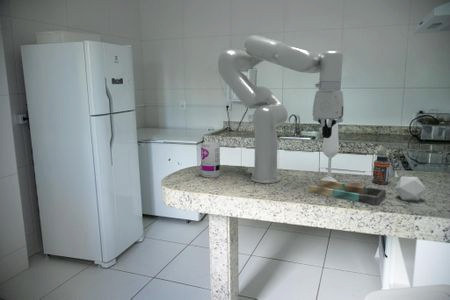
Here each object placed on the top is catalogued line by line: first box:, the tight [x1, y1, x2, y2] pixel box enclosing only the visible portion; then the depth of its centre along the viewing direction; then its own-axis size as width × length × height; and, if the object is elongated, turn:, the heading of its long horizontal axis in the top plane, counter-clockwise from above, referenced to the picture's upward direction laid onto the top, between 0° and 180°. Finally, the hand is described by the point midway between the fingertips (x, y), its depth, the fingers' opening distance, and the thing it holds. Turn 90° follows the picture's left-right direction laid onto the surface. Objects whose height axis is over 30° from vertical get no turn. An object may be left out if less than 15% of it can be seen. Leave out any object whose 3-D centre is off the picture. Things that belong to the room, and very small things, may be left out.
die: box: [394, 176, 427, 202], centre depth 113 cm, size 8×9×10 cm
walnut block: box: [345, 181, 367, 195], centre depth 118 cm, size 6×6×4 cm
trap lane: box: [308, 178, 387, 206], centre depth 119 cm, size 24×11×2 cm, turn 52°
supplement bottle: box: [371, 154, 391, 185], centre depth 133 cm, size 6×6×11 cm
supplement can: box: [200, 141, 221, 179], centre depth 146 cm, size 8×8×15 cm
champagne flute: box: [321, 122, 340, 182], centre depth 136 cm, size 7×7×24 cm
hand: (326, 137), depth 121 cm, fingers closed
